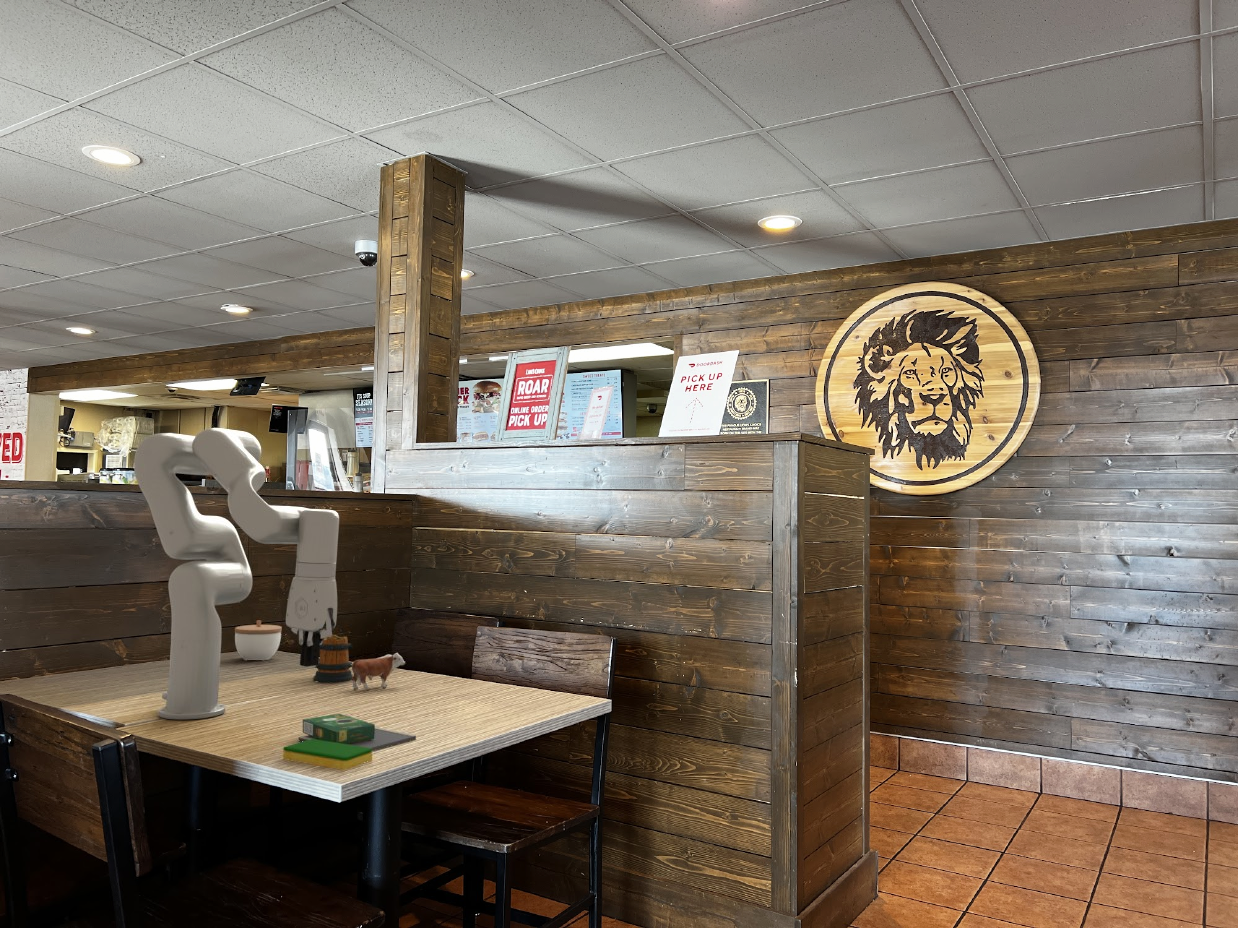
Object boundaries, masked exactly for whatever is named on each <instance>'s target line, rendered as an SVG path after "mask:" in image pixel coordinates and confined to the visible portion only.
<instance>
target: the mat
mask: <svg viewBox="0 0 1238 928" xmlns="http://www.w3.org/2000/svg"><path fill="white" fill-rule="evenodd" d="M310 739H317V740H320V739H318V738H315V737H312V736H310V735H304V736H299V737H298V740H300V741H299V742H301V741H306V740H310ZM416 739H417V735H416V734H410V733H406V732H400V731H396V730H391V729H386V728H381V727H376V726H375V736H374V739H371V740H366V741H360V742H355V743H349V744H348V745H354V746H360V747H367V748H372V750H374V749H378V750H380V749H379V748H381V749H384V747H385V748H387V747H386V746H389V747H392V746H391V745H393V746H396V745H399V744H398V743H400V744H404V743H406V742H405V741H408V742H411V741H414V740H415V741H416ZM298 740H297V741H298ZM410 740H411V741H410ZM403 742H404V743H403ZM374 751H375V750H374Z"/></svg>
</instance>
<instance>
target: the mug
mask: <svg viewBox="0 0 1238 928" xmlns="http://www.w3.org/2000/svg"><path fill="white" fill-rule="evenodd" d="M353 646H354V645H353V644H352V643H348V636H343V637H339V636H338V635H336V634H332V636H331V637H329V638H324V640H323V642H322V644H321V645H320V649H319V663H318V665H315V666H314V668H315V669H317V670H316V672H315V674H314V676H313V681H314V682H315V681H318V682H317V683H325V684H336V683H337V684H338V683H345V682H350V681H352V678H353V676H354V674H352V664H353V662H352V661H351V662H350V660H349V649H351V648H353ZM350 669H351V670H350Z"/></svg>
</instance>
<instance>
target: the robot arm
mask: <svg viewBox="0 0 1238 928" xmlns="http://www.w3.org/2000/svg"><path fill="white" fill-rule="evenodd" d="M261 457H262V447H261V444H260V442H259V440H258V438H256V437H255V435H253V434H251V433H249V432H247V431H242V430H234V429H227V428H221V427H220V428H219V427H212V428H211V427H210V428H206V429H204V430H201V431H199V432H198V433H197V434H196V435H188V434H181V433H173V432H163V433H162V432H160V433H154V434H151V435H148V436H147V437H145V438H143V439H142V441H140V443H139V444H138V446H137V448H136V451H135V455H134V460H133V470H134V475H135V478H136V482H137V484H138V487H139V488H140V491H141V493H142V494H143V497H145V500H146V501H147V504H148V507H149V509H150V512H151V516H152V519H153V522H154V525H155V528H156V530H157V535H158V536H159V539H160V542H161V543H160V544H161V545H162V548H163V550H164V552H165V553H166V555H167V556H169V557H170V558H171V559H175V560H182V561H183V560H188V561H187V562H184V563H182V564H180V565H178V566H177V567H176V568H175V569H174V570H173V571H172V572H171V574H170V576H169V579H168V587H167V588H168V596H169V601H170V602H169V603H170V609H171V611H170V612H171V626H170V628H171V629H170V630H171V631H170V632H171V633H170V634H171V635H170V653H169V655H170V656H169V671H168V684H167V685H168V687H167V690H166V692H163V693H162V695H161V699H163V700H166V702H165V704H166V705H165V706H163V707H160V708H159V709H158V711H157V715H158V717H159V718H162V719H167V720H179V721H181V720H184V721H185V720H198V719H207V718H212V717H217V716H219V715H222V714H224V713H225V712H226V705H225V704H223V703H220V702H219V687H220V668H221V653H222V651H221V649H222V622H221V619H220V616H219V614H218V612H217V610H216V607H215V606H217V605H218V606H219V605H228V604H236V603H239V602H242V601H243V600H245V599H246V598H248V597H249V595H250V593H251V591H252V589H253V574H252V571H251V570H252V569H251V567H250V564H249V561H248V559H247V556H246V552H245V550H244V547H243V545H242V541H241V539H240V536H239V534H238V531H237V529H236V528H235V526H234V525H233V523H231V522H230V521H229V520H228V519H226V518H225V517H223V516H217V515H203V514H201V513H200V512H199V510H198V508H197V506H196V504H195V501H194V498H193V495H192V493H191V492H190V490H189V489H188V487H187V486H186V485H185V484H184V483H183V481H181V480H180V479H179V478H178V477H177V476H176V474H182V475H183V474H184V475H195V476H212V477H213V478H214V479H215V481H217V483H218V484H220V485H221V487H222V488H223V489H224V490H225V491H226V492H227V505H228V510H229V513H230V516H231V518H232V519H233V521H234V522H235V523H236V524H237V525H238V527H239V528H241V530H242V531H243V532H244V533H245V534H246V535H247V536H248V537H249V538H250V539H252V540H254V541H256V542H257V543H260V544H264V545H270V544H271V545H273V544H274V545H276V544H278V545H279V544H281V545H282V544H284V545H289V544H290V545H293V544H294V545H296V544H297V548H296V559H295V560H296V562H295V563H296V564H295V572H294V573H295V575H294V577H293V578H292V581H291V585H290V588H289V592H288V598H287V605H286V612H285V613H286V614H285V625H286V626H287V627H289V628H290V630H291V632H293V634H296V635H297V637H298V643H299V645H300V653H299V655H300V658H299V665H300V666H302V667H315V666H316V665H318V663H319V659H320V645H321V644H322V642H323V640H324V638H329V637H331V636H332V635H333V632H332V631H333V630H334V629H335V627H336V625H337V618H338V617H337V616H338V590H337V581H336V571H337V570H336V569H337V558H338V557H337V556H338V541H339V528H340V516H339V513H338V512H337V511H336V510H332V509H326V508H325V509H322V508H321V509H320V508H319V509H318V508H308V507H307V508H306V507H302V506H290V505H271V504H268V503H267V502H266V501H265V500H264V499H263V498H262V497H261V496H260V495H259V494H258V493H257V492H258V491H259V490H260V489H261V488H262V487H263V485H264V484H265V481H266V477H267V473H266V469H265V468H264V466H263V465H262V464H261V463H260V462H261V461H260V460H261ZM189 560H193V561H189Z"/></svg>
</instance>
